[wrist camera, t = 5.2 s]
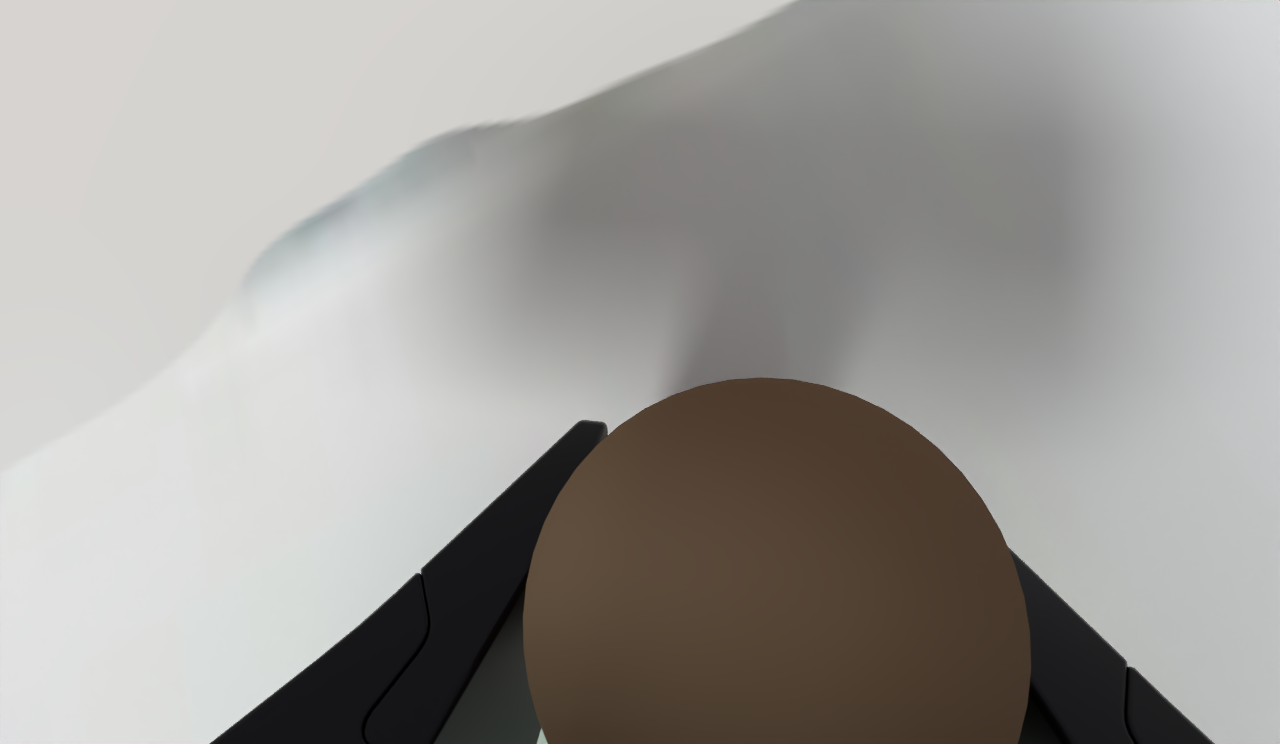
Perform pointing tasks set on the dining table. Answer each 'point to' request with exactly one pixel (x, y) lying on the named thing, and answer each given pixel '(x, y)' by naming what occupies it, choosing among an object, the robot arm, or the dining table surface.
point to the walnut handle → (773, 582)
